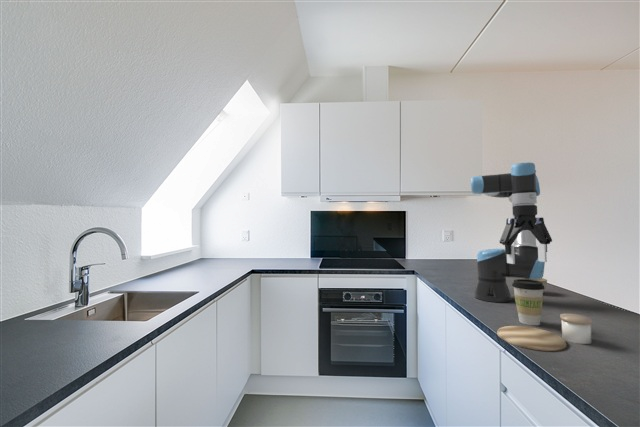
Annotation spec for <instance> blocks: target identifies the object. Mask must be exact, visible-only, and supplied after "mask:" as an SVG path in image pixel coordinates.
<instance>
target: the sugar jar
mask: <svg viewBox="0 0 640 427" xmlns="http://www.w3.org/2000/svg"><path fill="white" fill-rule="evenodd" d="M559 319H560V320H561V337H562V338H563V339H564V340H565V341H566V342H570V343H573V344H580V345H590V344H592V324H593V319H592V318H591V317H589V316H585V315H583V314H577V313H560V315H559Z"/></svg>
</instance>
